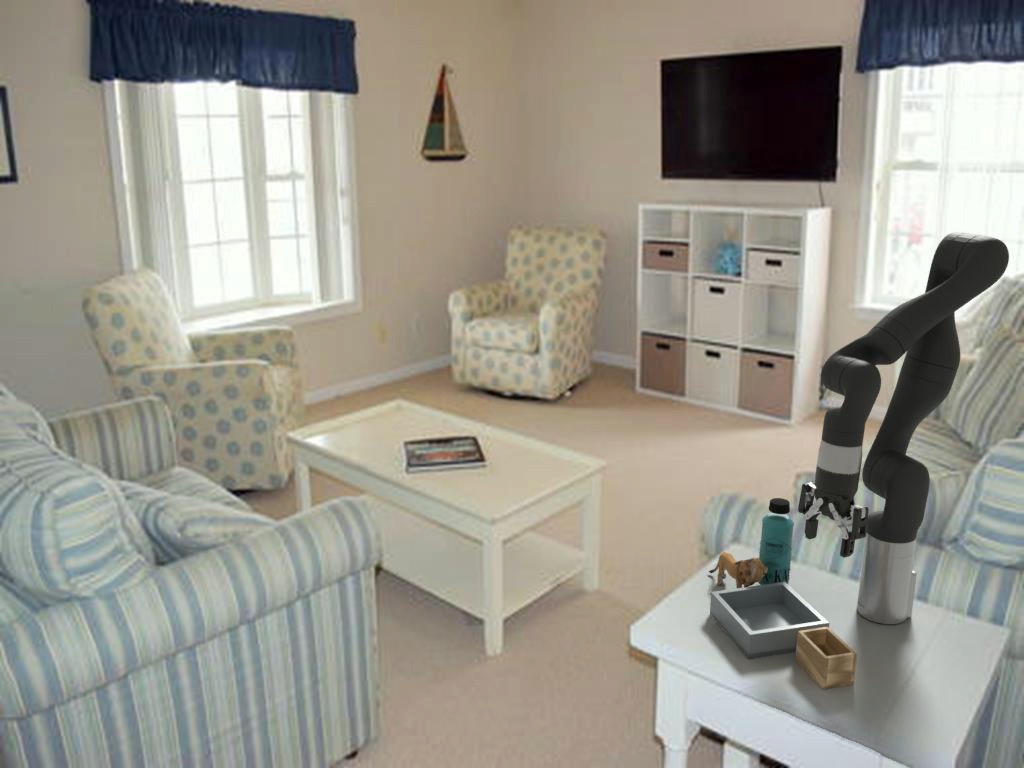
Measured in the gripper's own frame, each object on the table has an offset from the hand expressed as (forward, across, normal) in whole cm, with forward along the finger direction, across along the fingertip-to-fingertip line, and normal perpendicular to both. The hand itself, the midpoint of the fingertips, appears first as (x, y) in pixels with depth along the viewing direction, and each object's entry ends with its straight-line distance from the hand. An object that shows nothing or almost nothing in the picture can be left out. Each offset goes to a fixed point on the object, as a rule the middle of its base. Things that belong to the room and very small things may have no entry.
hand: (827, 546), depth 170 cm
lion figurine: (+18, +20, +2) cm, 27 cm away
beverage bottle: (+18, +16, -4) cm, 25 cm away
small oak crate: (+18, -10, +8) cm, 22 cm away
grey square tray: (+18, +5, +8) cm, 20 cm away
